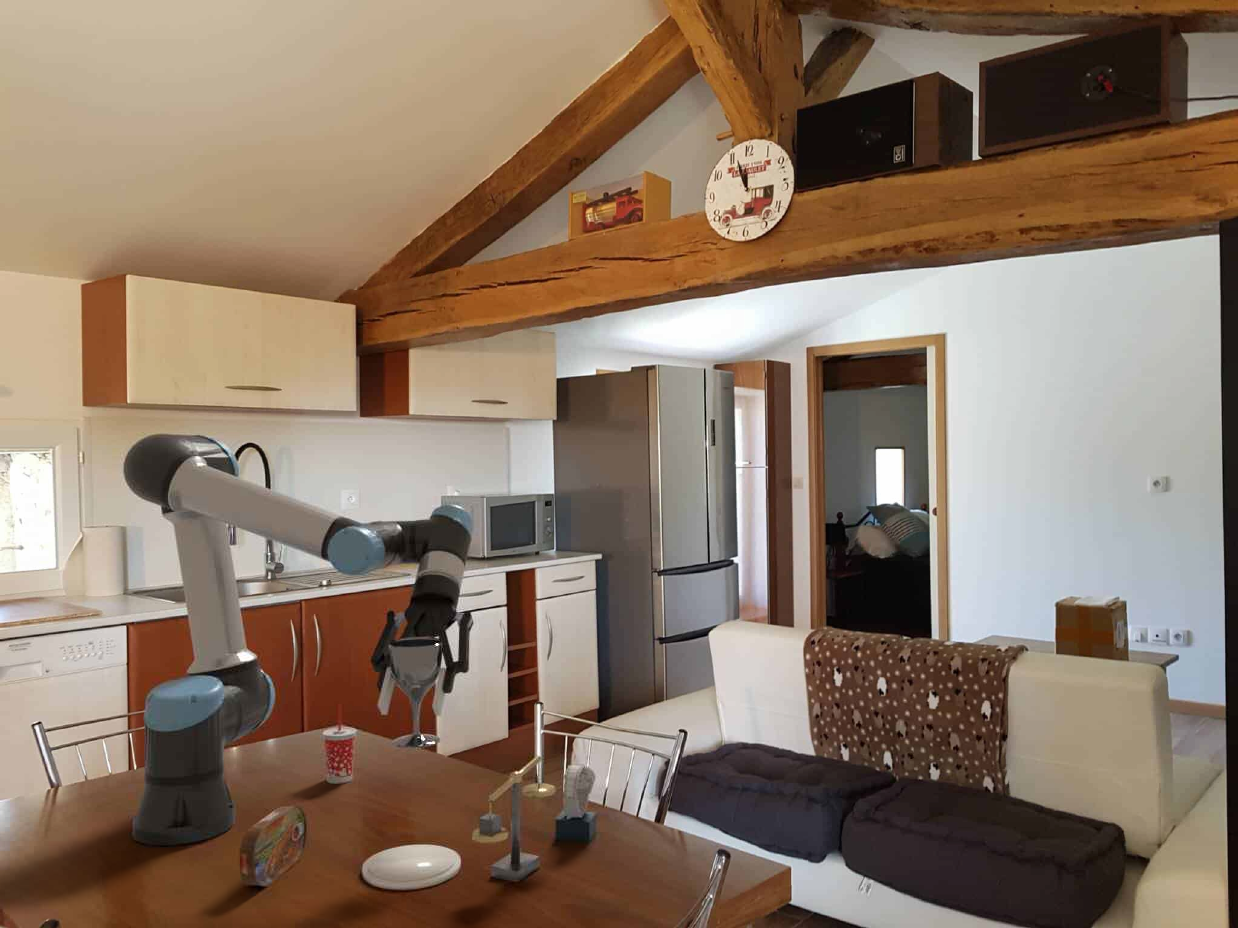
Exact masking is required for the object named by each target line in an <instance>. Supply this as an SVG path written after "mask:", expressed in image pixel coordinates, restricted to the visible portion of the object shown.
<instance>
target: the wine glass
mask: <svg viewBox="0 0 1238 928" xmlns="http://www.w3.org/2000/svg"><path fill="white" fill-rule="evenodd" d="M442 662H443V653H442V640H441V639H439V637H431V636H426V637H411V638H402V639H399V638H397V639H394V640H393V641H391V642H389V663H390V669H391V673H392V677H393V679H394V681H395V684H396V686H397V687H398V688H399V689H400V690H401V691H402V692H403V693H404V694H405V695H406V697H407V699H408V700H409V702H410V704H411V708H412V709H411V710H412V716H413V717H412V718H413V730H412V731H413V732H412V733H411V734H407V735H402V736H400V737H397V738H394V740H392V742H391V744H392V746H394V747H397V748H399V749H400V748H401V749H423V748H428V747H431V746H435V745H437V744H439V743H440V742H441V738H440V737H439V736H437V735H434V734H427V733H425V734H424V733H421V732H420V711H421V707H422V706H421V704H422V701H423V699H424V697H425V696H426V695H427V693H428V692H429V691H430V690H431V688H432V687H433V686H434V684H435V683H437V681H438V676H439V671H440V668H442Z"/></svg>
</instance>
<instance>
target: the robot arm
mask: <svg viewBox="0 0 1238 928" xmlns="http://www.w3.org/2000/svg"><path fill="white" fill-rule="evenodd" d="M238 463H239V462H238V459H237V458H236V456H235V454H234V452H233V451H232V450H231V448H229V446H228V445H226V444H225V443H224V442H222V441H221V440H219V439H215V438H213V437H209V436H205V435H201V434H194V435H192V434H190V435H189V434H169V433H156V434H151V435H148V436H145V437H143V438H142V439H139V440H138V441H137V442H135V443H134V444H133V445H132V446H131V447H130V449H129V450H128V451H127V454H126V455H125V458H124V461H123V468H122V470H123V477H124V480H125V483H126V484H127V486H128V489H130V491H131V492H133V494H135V495H136V496H137V497H138V498H141V499H142V500H144V501H146V502H149V503H152V504H155V505H158V506H160V509H161V515H162V517H163V518H164V519H166V520H167V521H169V522H170V524H172V525H173V529H174V536H175V543H176V547H177V548H176V549H177V556H178V561H179V567H180V573H181V581H182V588H183V592H184V599H185V604H186V612H187V618H188V626H189V629H190V630H189V631H190V636H191V643H192V649H193V656H194V660H193V662H192V663H191V664H190V666H189V667H188V669H186V670H187V671H186V673H187V676H182V677H180V678H178V679H169V680H168V681H165V682H162V683H159V684H158V685H156V686H155V687H154V688H152V689H151V690H150V691H149V693H148V694H147V696H146V699H145V708H144V713H143V722H144V787H143V791H142V793H141V796H140V800H139V804H138V807H137V810H136V813H135V815H134V817H133V821H132V838H133V839H134V840H135V841H136V842H138V843H141V844H145V845H150V846H176V845H178V846H179V845H184V844H190V843H191V844H192V843H197V842H201V841H204V840H208V839H211V838H214V837H217V836H219V835H221V834H224V833H225V832H227V831H229V830H230V829H231V828H232V827H233V826H234V825H235V823H236V808H235V804H234V803H233V799H232V796H231V793H230V790H229V787H228V785H227V782H226V779H225V775H224V755H225V754H224V753H225V751H224V749H225V748H224V747H226V746H228V745H230V744H232V743H234V742H235V741H237V740H239V739H241V738H245V737H247V736H249V735H251V734H252V733H254V732H255V731H256V730H257V729H259V727H261V726H262V725H263V724H264V723H265V722H266V721H267V720H268V719H269V718H270V716H271V714H272V712H273V709H274V705H275V702H276V701H275V699H276V691H275V687H274V684H273V681H272V678H271V677H270V676H269V675H268V674H267V673H265V672H264V670H263V669H262V668H260V664H259V658H258V655H257V654H255V653H254V652H252V651H251V650H250V649H248V647H247V641H246V635H245V629H244V623H243V622H244V621H243V617H242V611H241V604H240V599H239V591H238V587H237V586H238V585H237V579H236V572H235V566H234V561H233V553H232V547H231V543H230V536H229V528H228V525H231V526H233V527H235V528H238V529H240V530H242V531H245V532H248V533H251V534H254V535H257V536H259V537H262V538H265V539H266V540H267V539H268V540H269V541H270V540H271V541H272V542H276V543H279V544H281V545H283V546H286V547H288V548H291V549H294V550H296V551H300V552H302V553H304V554H307V555H311V556H313V557H316V558H318V559H321V560H324V561H327V562H328V563H330V564H331V565H332V567H333V568H334V569H335V570H336V571H337V572H339V573H341V574H343V575H347V576H364V575H366V574H371V573H372V572H374V571H377V570H380V569H381V570H382V569H384V568H388V567H391V566H398V565H399V566H400V565H416V564H418V568H417V572H416V574H415V581H414V583H413V587H412V592H411V596H410V598H409V599H410V600H409V605H408V606H407V607H406V609H405V610H404V611H403V612H397V613H395V611H394V610H388V611H387V613H386V624H385V625H384V628H383V631H382V632H381V635H380V637H379V639H378V642H377V644H376V646H375V649H374V651H373V654H372V656H371V658H370V660H369V662H370V664H371V666H372V668H373V671H374V672H375V673H379V675H378V679H377V682H376V687H377V690H378V692H379V693H380V694H379V698H378V703H377V707H378V709H379V711H380V714H381V716H386V715H388V712H389V708H390V704H391V699H392V696H393V693H394V687H395V684H396V683H395V681H394V679H393V677H392V673H391V669H390V663H389V642H391V641H393V640H396V636H397V634H398V629H400V628H401V626H402V624H403V623H404V622H405V621H406V622H407V624H406V625H405V627H404V631H403V632H402V633H401V635H400V637H399V638H398V639H402V638H411V637H432V638H438V639H441V640H442V658H443V660H444V664H445V667H441V668H440V671H439V676H438V679H437V680H436V685H435V686H436V687H435V691H434V696H433V701H432V705H431V706H432V709H433V712H434V715H435V716H437V717H438V716H441V715H442V712H443V705H444V701H445V697H446V694H451V693H452V691H453V688H454V683H455V677H456V676H457V675H458V674H460V673H463V674H466V673H468V672H469V670H470V669H469V668H470V666H469V665H470V633H471V630H472V628H473V625H474V619H473V615H472V612H471V611H470V610H466V611H464V613H462V612H458V611H457V609H458V602H459V598H460V594H461V593H460V592H461V587H462V584H463V580H464V579H463V578H464V574H465V569H466V562H467V559H468V555H469V550H470V547H471V543H472V539H473V537H472V534H473V527H474V526H473V525H474V519H473V518H472V516H471V514H470V512H469V511H467V510H466V509H465V508H463V507H462V506H460V505H456V504H450V503H449V504H447V503H446V504H441V505H440V506H438V507H435V509H433V511H432V513H431V515H430V516H429V519H427V518H425V519H418V520H417V519H416V520H392V521H391V520H390V521H389V520H387V521H382V520H378V521H370V522H364V523H362V522H359V521H357V520H354V519H351V518H349V517H345V516H343V515H341V514H337V513H336V512H332V511H330V510H327V509H324V508H322V507H319V506H316V505H313V504H311V503H308V502H306V501H303V500H300V499H298V498H295V497H292V496H289V495H287V494H284V493H281V492H279V491H277V490H273V489H270V488H268V487H266V486H265V487H264V486H262V485H259V484H257V483H254V482H252V481H249V480H246V479H244V478H242V477H239V474H240V469H239V468H240V467H239V464H238ZM456 622H457V626H458V649H457V650H458V654H457V659H458V660H457V661H456V660H455V661H454V658H453V654H452V653H453V652H452V650H451V646H450V643H449V639H448V638H449V637H448V634H447V630H449V628H450V627H452V625H454V624H455V623H456Z"/></svg>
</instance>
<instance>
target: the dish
mask: <svg viewBox="0 0 1238 928" xmlns="http://www.w3.org/2000/svg"><path fill="white" fill-rule="evenodd" d="M461 859H462V858H461V857H460V854H458V852H456V851H455V850H453V849H451V848H448V847H446V846H440V845H435V844H408V845H400V846H396V847H395V846H394V847H392V848H388V849H385V850H382V851H380V852H378V853H375V854H373V855H372V856H369V857H368V858H367V859H366V860H365V861H364V863H363V864H362V866H361V867H362V868H361V869H362V870H361V875H362V878H363V880H364V881H365V882H366V883H367V884H369V885H371V886H373V887H377V888H381V889H385V890H392V891H393V890H396V891H405V890H406V891H407V890H418V889H424V888H428V887H432V886H433V887H434V886H436V885H439V884H442V883H444V882H446V881H448V880H450V879H452V878H453V877H455V876H456V875H457V874H458V873H459V871H460V870H461V867H462V864H461V862H462V861H461Z"/></svg>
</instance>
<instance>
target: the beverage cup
mask: <svg viewBox="0 0 1238 928" xmlns="http://www.w3.org/2000/svg"><path fill="white" fill-rule="evenodd" d="M337 705H338V707H337V708H338V713H337V714H338V719H337V720H338V721H337V722H338V724H337V725H338V727H333V728H332V727H331V728H329V729H326V730H323V732H322V738H323V739H324V755H325V768H326V769H325V770H326V781H327V782H328V783H329V784H344V783H348V782H350V781H352V780H353V777H354V776H353V774H354V759H355V758H354V757H355V742H356V736H357V729H356V728H354V727H349V726H347V727H346V726H345V727H344V726H343V727H342V704H337Z"/></svg>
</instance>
